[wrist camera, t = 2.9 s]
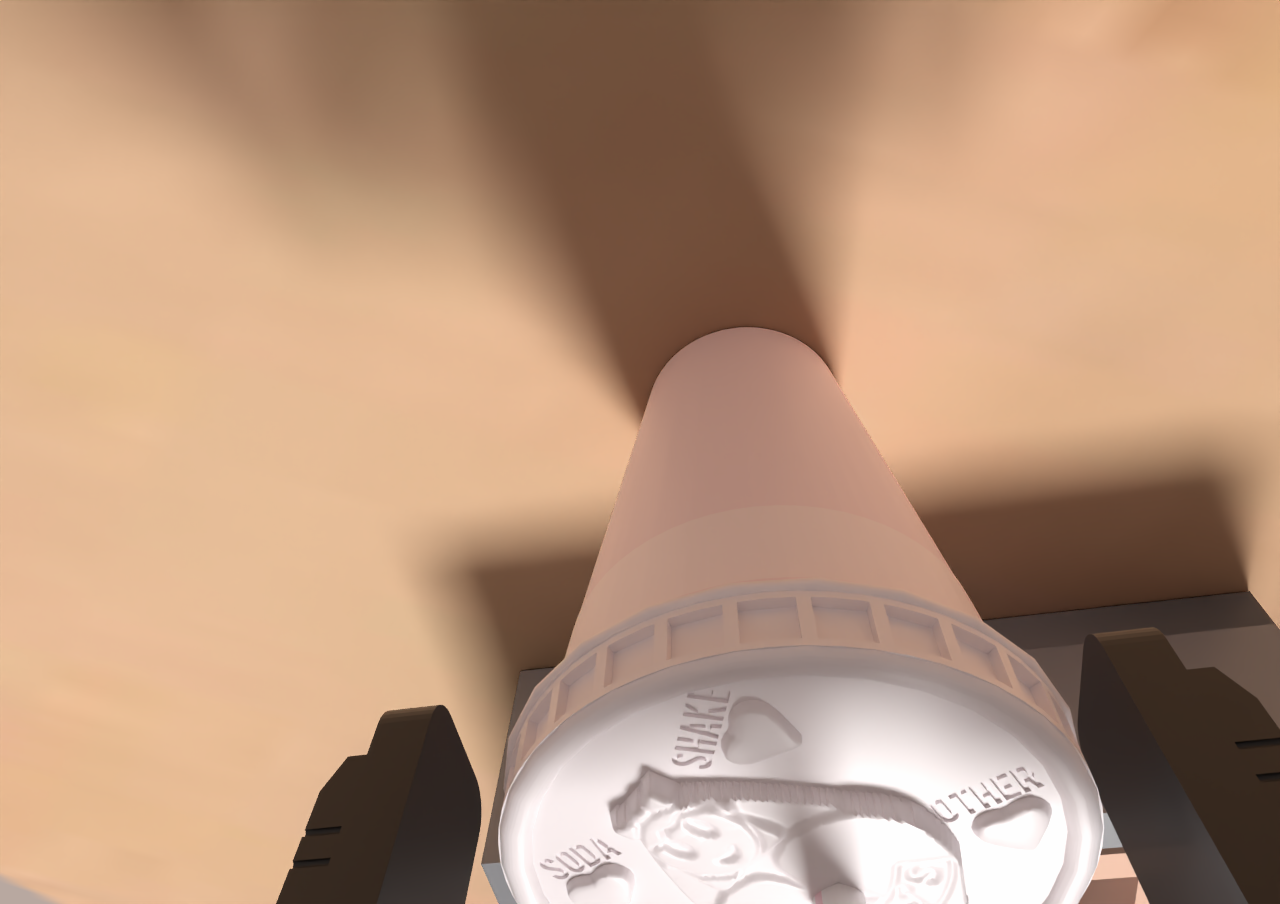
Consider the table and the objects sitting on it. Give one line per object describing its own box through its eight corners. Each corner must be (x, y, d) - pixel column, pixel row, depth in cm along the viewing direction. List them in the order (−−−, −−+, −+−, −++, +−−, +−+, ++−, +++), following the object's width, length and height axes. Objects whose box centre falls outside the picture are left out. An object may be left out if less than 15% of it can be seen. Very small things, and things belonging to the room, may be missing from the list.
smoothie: (783, 591, 20) (924, 1611, 8) (520, 458, 19) (240, 1479, 7) (985, 366, 17) (1652, 1464, 5) (691, 186, 16) (718, 1169, 4)
